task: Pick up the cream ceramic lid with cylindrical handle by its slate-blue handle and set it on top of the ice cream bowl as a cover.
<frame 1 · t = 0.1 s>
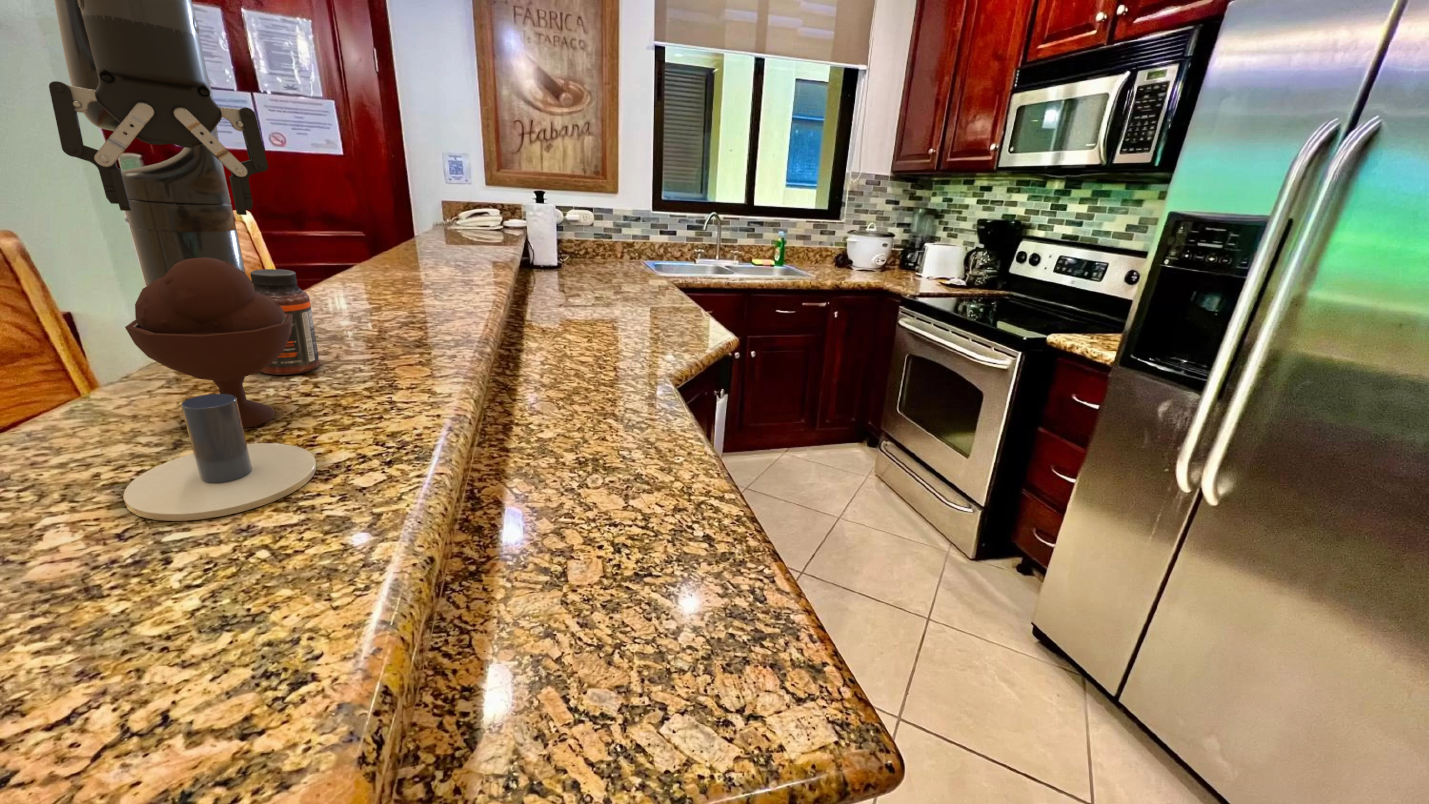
hand: (186, 212, 55), 17 cm above the table, tool pointing down, fingers open, 8 cm apart
lid with cylindrical handle: (228, 480, 42), on the table
supplement bottle: (290, 370, 65), on the table
ice cream bowl: (238, 420, 52), on the table
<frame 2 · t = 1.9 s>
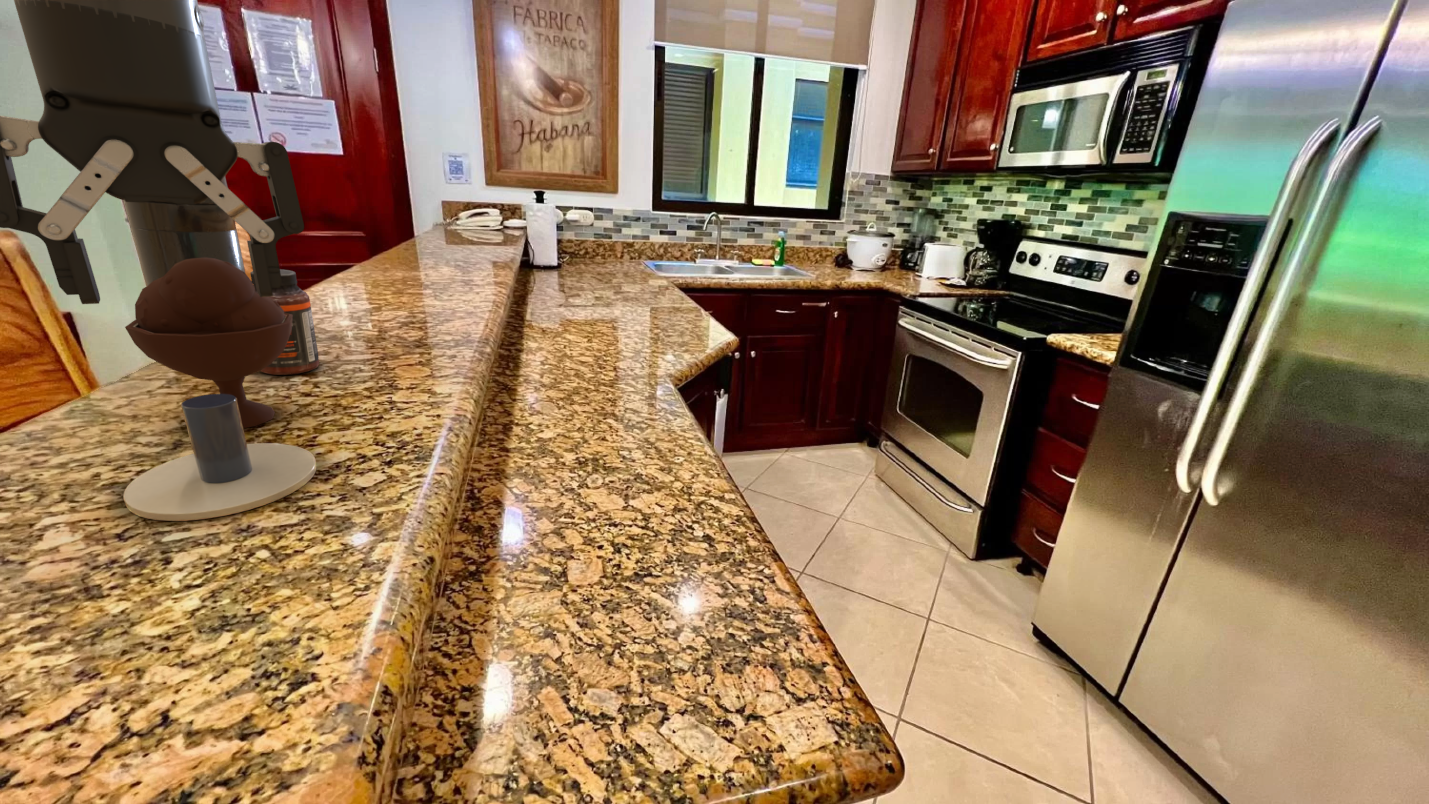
hand: (184, 298, 37), 14 cm above the table, tool pointing down, fingers open, 8 cm apart
nothing on the table moved.
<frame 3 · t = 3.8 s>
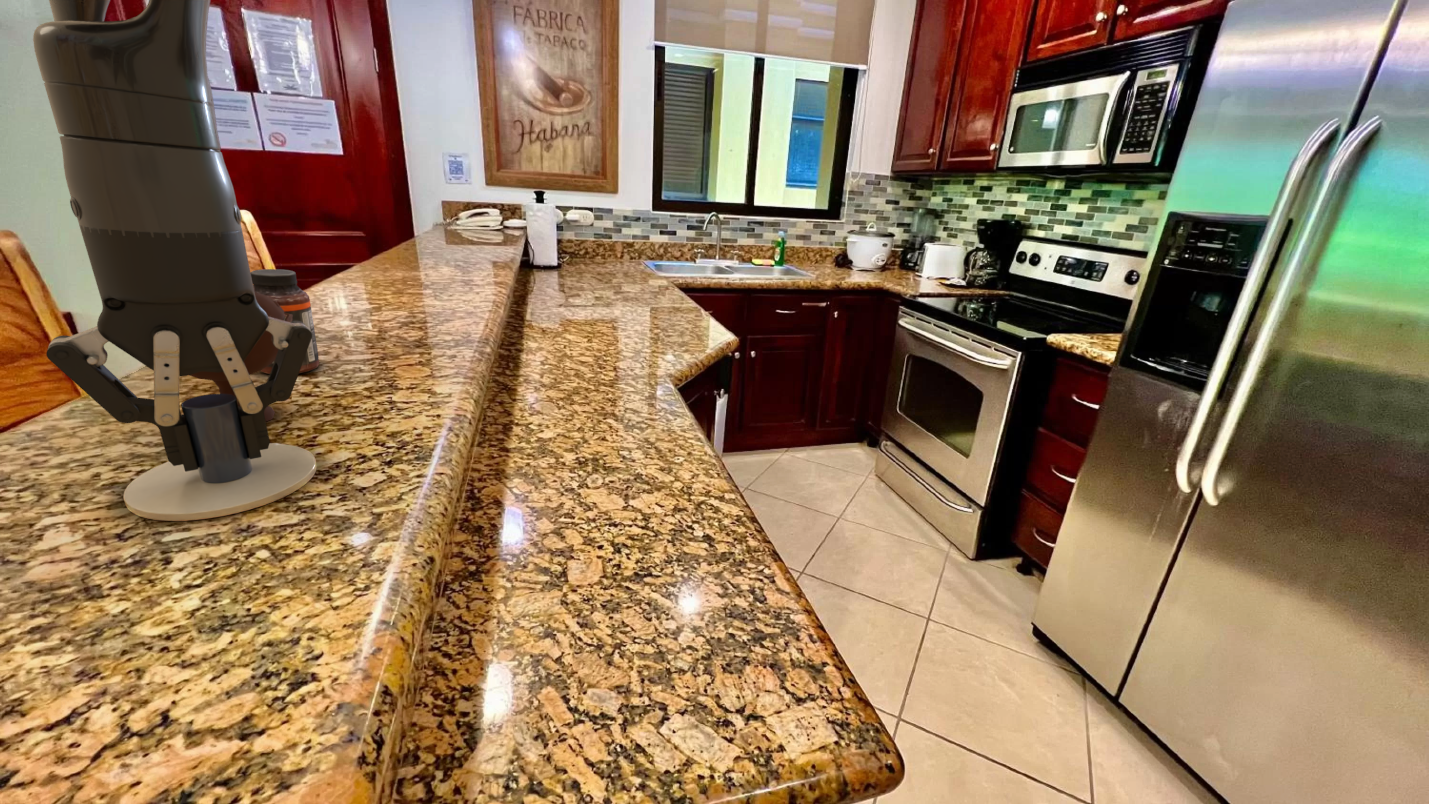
hand: (223, 459, 41), 2 cm above the table, tool pointing down, fingers closed on lid with cylindrical handle, 3 cm apart
lid with cylindrical handle: (228, 480, 42), on the table, touching gripper
everything else where it was.
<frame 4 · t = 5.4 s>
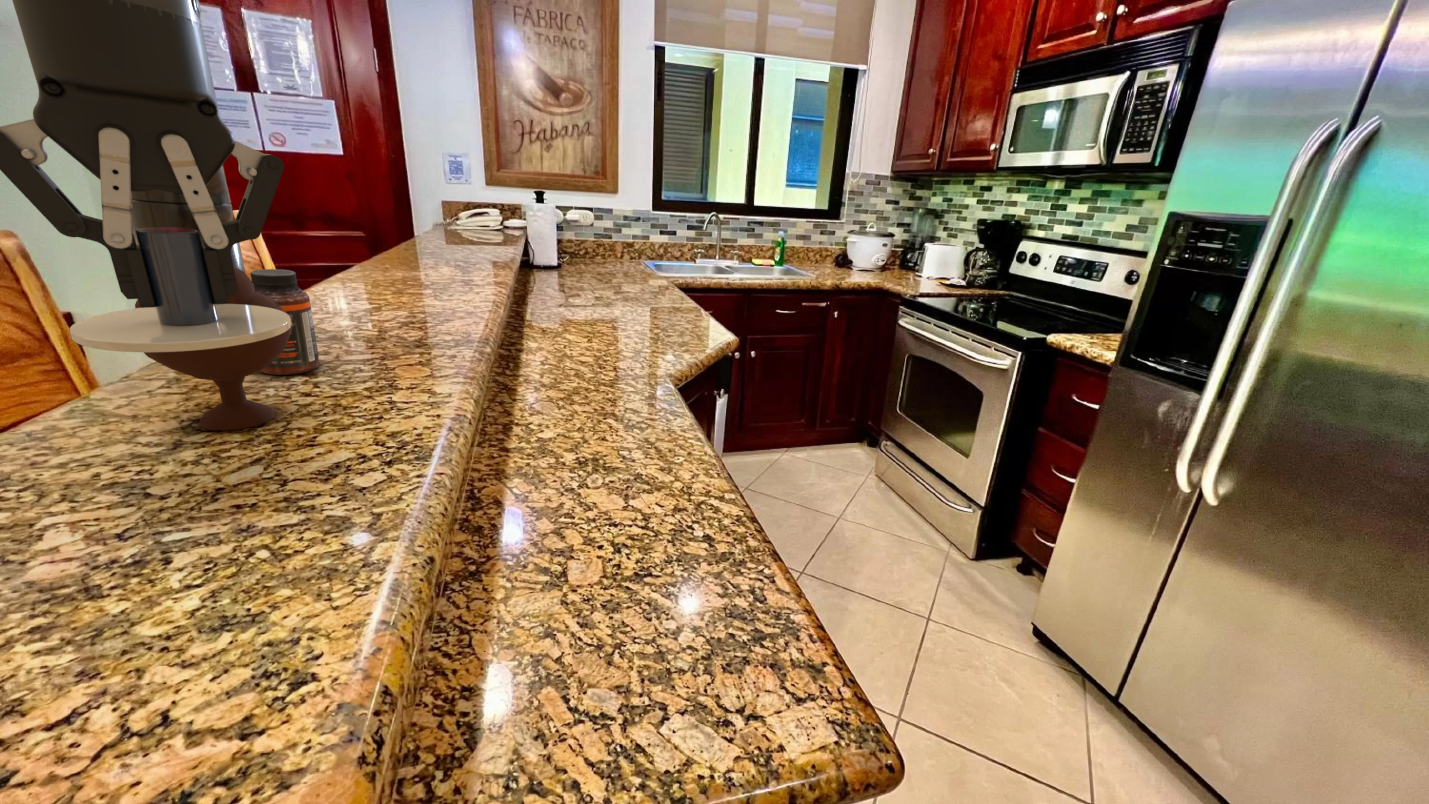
hand: (184, 302, 37), 14 cm above the table, tool pointing down, fingers closed on lid with cylindrical handle, 3 cm apart
lid with cylindrical handle: (192, 329, 38), point 12 cm above the table, touching gripper
everything else where it was.
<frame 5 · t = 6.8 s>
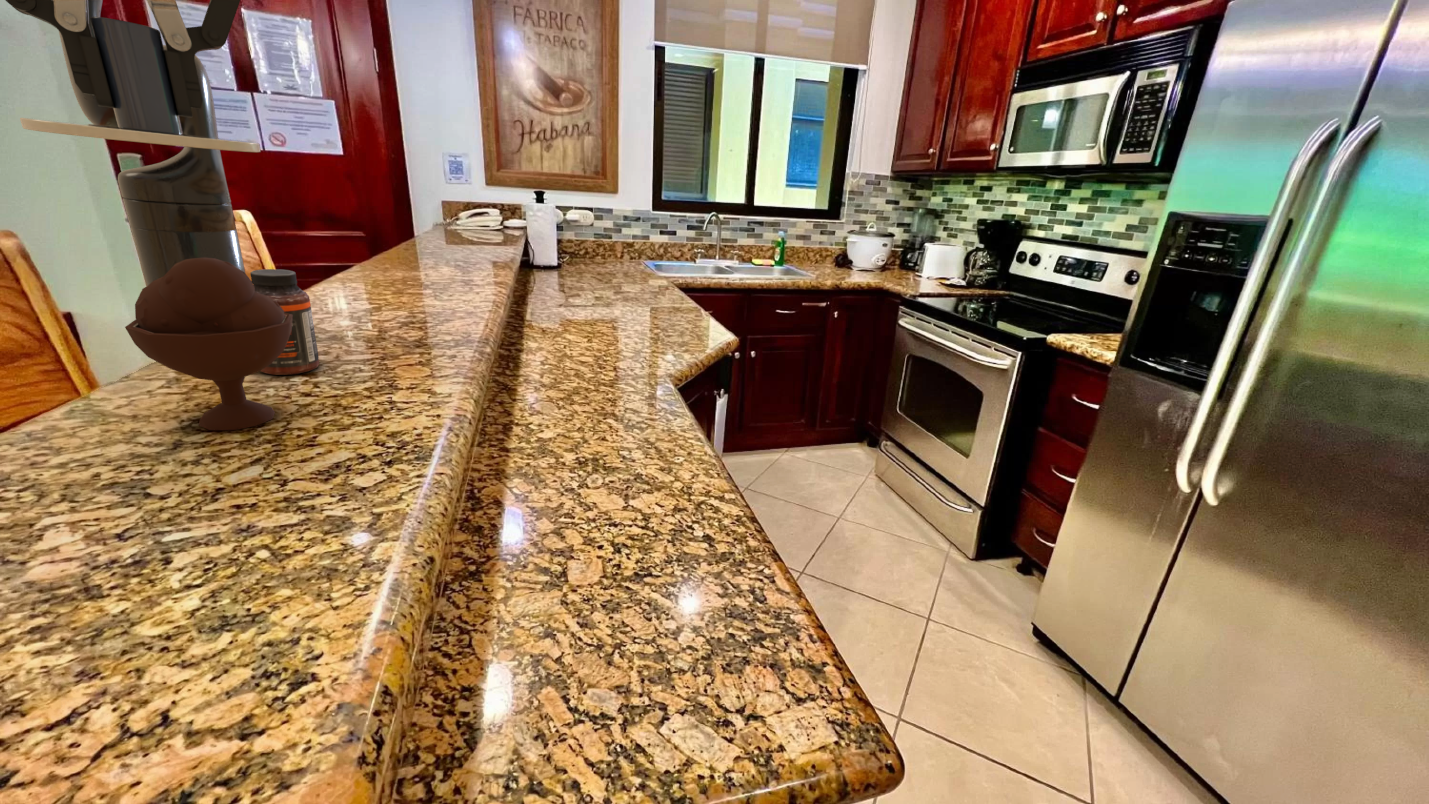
hand: (146, 110, 36), 26 cm above the table, tool pointing down, fingers closed on lid with cylindrical handle, 3 cm apart
lid with cylindrical handle: (154, 141, 36), point 24 cm above the table, touching gripper
everything else where it was.
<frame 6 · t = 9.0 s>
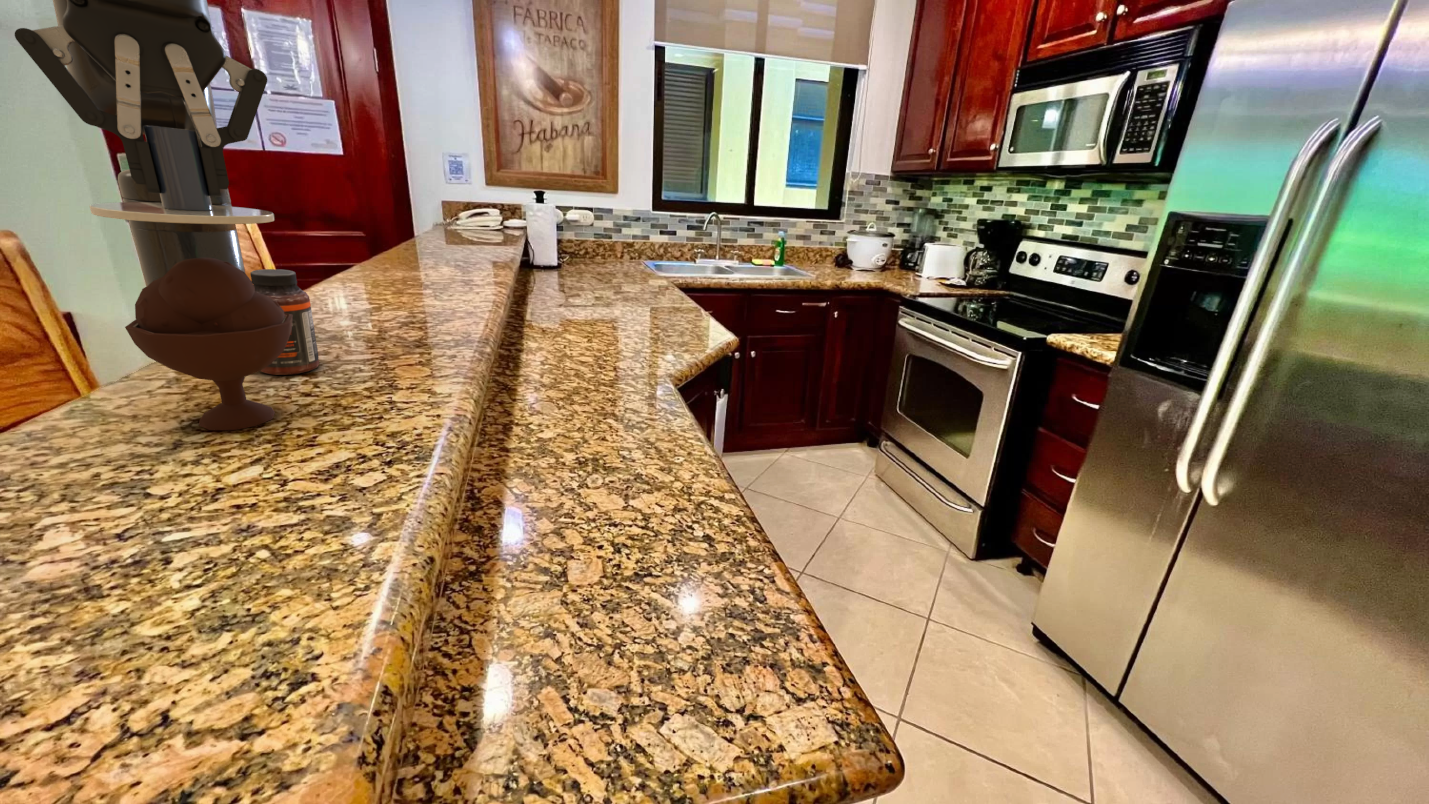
hand: (184, 193, 45), 20 cm above the table, tool pointing down, fingers closed on lid with cylindrical handle, 3 cm apart
lid with cylindrical handle: (190, 216, 45), point 18 cm above the table, touching gripper
everything else where it was.
when the fingers open (17 cm above the table, at t = 10.1 s): lid with cylindrical handle stays where it is, resting on ice cream bowl.
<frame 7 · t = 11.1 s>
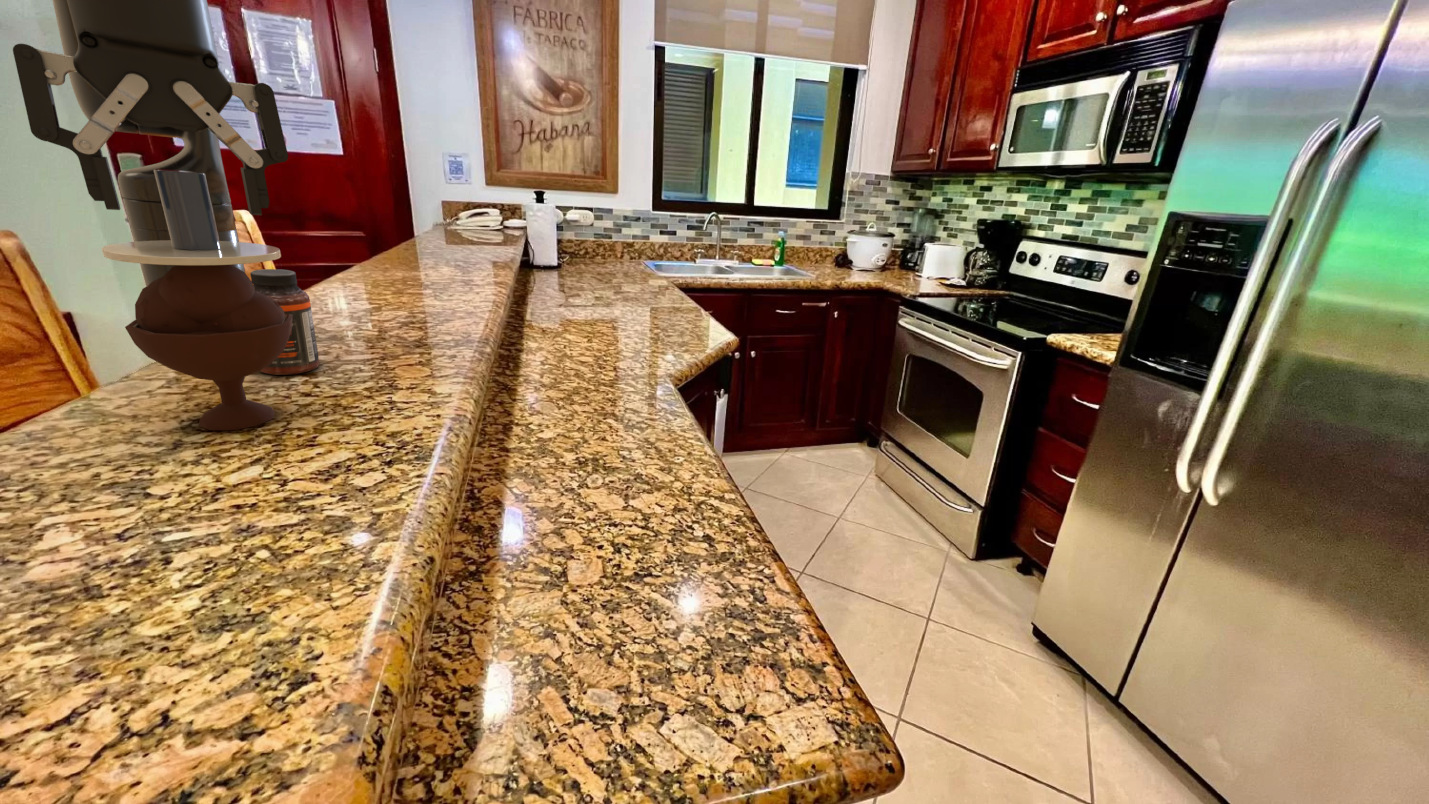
hand: (188, 211, 45), 19 cm above the table, tool pointing down, fingers open, 8 cm apart
lid with cylindrical handle: (199, 255, 46), point 15 cm above the table, touching ice cream bowl
ice cream bowl: (238, 420, 52), on the table, touching lid with cylindrical handle
everything else where it was.
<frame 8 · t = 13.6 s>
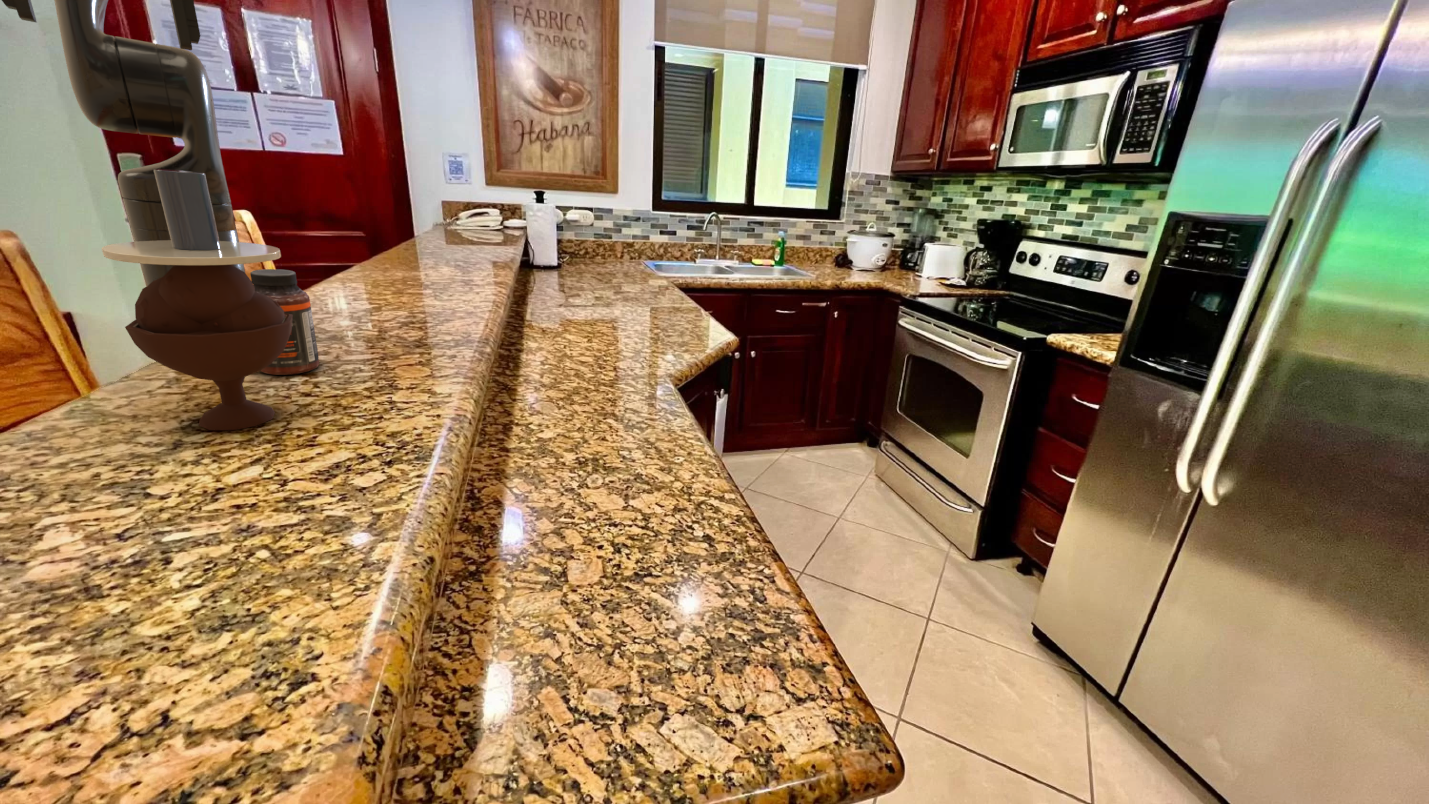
hand: (112, 35, 43), 31 cm above the table, tool pointing down, fingers open, 8 cm apart
nothing on the table moved.
at the end: lid with cylindrical handle 0.1 cm off-centre on the ice cream bowl, point 15.2 cm above the ice cream bowl's base; lid with cylindrical handle tilted 0°; ice cream bowl moved 0.2 cm from its start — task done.
